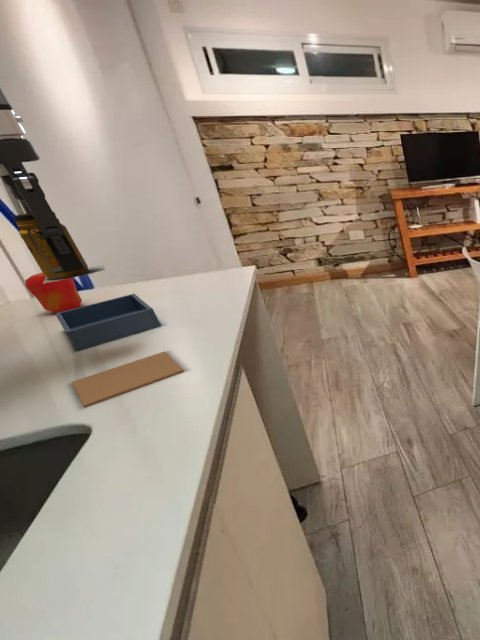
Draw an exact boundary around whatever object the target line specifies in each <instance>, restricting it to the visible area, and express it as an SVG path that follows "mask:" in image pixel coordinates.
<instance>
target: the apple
mask: <svg viewBox="0 0 480 640" xmlns="http://www.w3.org/2000/svg"><path fill="white" fill-rule="evenodd" d="M44 280H45V275H44V274H43V272H42V271H41V272H38V273H36V274H32V275H30V276H29V277H28V278H26V279H25V282H24V283H25V284H24V285H25V287H26V288H27V290H28V291H29V292H30V293H31V294H32V296H33V297H34V298H35V299H36V300H37V301H38V303H39V304H40V305H41V307H42V308H43V310H46V311H48V312H51V313H54V314H55V313H60V312H63V311H67V310H71V309H75V308H79V307H81V304H82V302H83V299H82V297H81V295H80V294H79V292H78V289H77V287H76V284H75V281H74V278H68V279H65V280H59V281H54V282H48V283H43V282H44Z"/></svg>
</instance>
